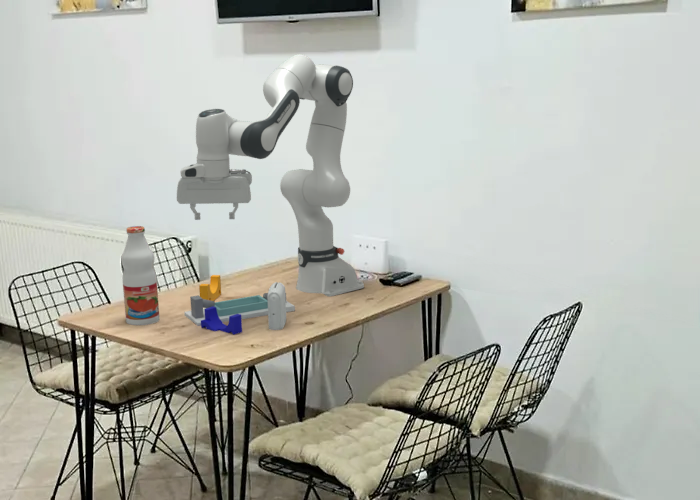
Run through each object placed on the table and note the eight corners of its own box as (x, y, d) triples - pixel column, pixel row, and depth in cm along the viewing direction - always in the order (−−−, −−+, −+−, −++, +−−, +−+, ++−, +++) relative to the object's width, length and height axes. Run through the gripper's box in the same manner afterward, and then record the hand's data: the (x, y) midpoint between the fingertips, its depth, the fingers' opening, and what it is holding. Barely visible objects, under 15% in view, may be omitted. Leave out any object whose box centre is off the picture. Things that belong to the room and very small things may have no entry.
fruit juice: (155, 315, 248) (148, 222, 241) (163, 325, 239) (156, 228, 233) (123, 320, 244) (115, 226, 237) (129, 330, 236) (121, 232, 229)
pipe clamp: (208, 294, 269) (207, 274, 267) (221, 294, 268) (220, 275, 266) (194, 305, 257) (193, 285, 256) (208, 306, 256) (207, 285, 255)
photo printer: (282, 332, 232) (281, 289, 229) (267, 332, 232) (265, 289, 229) (287, 320, 242) (286, 278, 239) (272, 320, 242) (271, 278, 239)
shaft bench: (278, 300, 260) (277, 278, 259) (294, 310, 250) (294, 287, 248) (184, 316, 246) (183, 293, 245) (198, 328, 236) (196, 304, 234)
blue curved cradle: (201, 330, 235) (200, 310, 233) (214, 326, 238) (212, 306, 237) (229, 340, 227) (228, 318, 226) (242, 335, 230) (241, 314, 229)
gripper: (251, 167, 234) (252, 216, 237) (177, 168, 232) (179, 217, 235) (251, 170, 228) (252, 220, 231) (174, 171, 226) (176, 221, 229)
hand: (214, 219), depth 233 cm, fingers open, 8 cm apart
